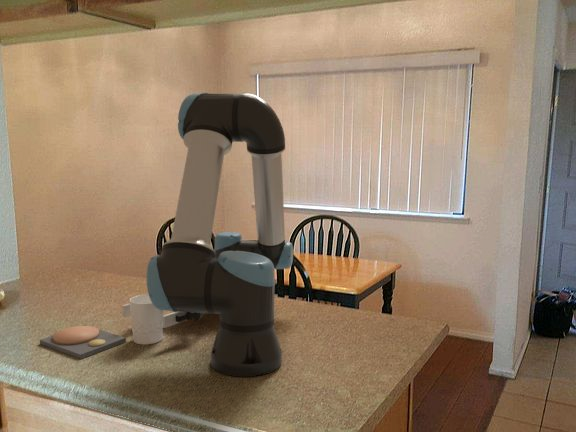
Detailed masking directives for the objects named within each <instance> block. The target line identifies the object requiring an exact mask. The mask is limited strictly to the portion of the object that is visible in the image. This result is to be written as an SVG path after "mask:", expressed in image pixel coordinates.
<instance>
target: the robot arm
mask: <svg viewBox="0 0 576 432" xmlns="http://www.w3.org/2000/svg"><path fill="white" fill-rule="evenodd" d="M177 120H178V123H177V130H178V134H179V137H180V138H181V139H182V140H183V141H182V142H183V144H184V145H185V147H186V149H187V153H186V157H185V164H184V168H183V174H182V179H181V184H180V185H181V186H180V190H179V195H178V201H177V205H176V211H175V215H174V216H175V217H174V222H173V226H172V233H171V237H170V239H169V240H168V241H166V242H164V243H163V244H162V247H161V251H160V254H155V255H153V256H152V257H151V258H150V259H149V261H148V263H147V268H146V287H147V288H146V289H147V294H149V297H150V300H151V302H152V304H153V305H154V306H155V307H156V308H158V309H160V310H164V311H166V312H167V311H169V312H170V313H167V314H164V316H162V319H163V328H164V329H166V328H169V327H173V326H175V325H177V324H180V323H182V322H185V321H191V320H192V319H193V321H194V322H199V321H200V320H201V319H202V317H203V316H204V315H205V314H213V315H214V314H216V315H217V314H218V330H217V333H216V335H215V338H214V342H213V346H212V349H211V350H210V365H211V367H212V368H213V369H214V370H215V371H216V370H217V372H218V371H219V372H218V373H220V372H221V373H220V374H223V373H224V374H223V375H226V374H228V375H227V376H231V375H234V376H233V377H240V376H250V377H256V376H255V375H259V376H261V375H260V374H263V375H266V374H265V373H267V374H269V373H268V372H270V373H272V372H274V371H276V370H277V369H279V368H280V367H279V366H281V365H282V362H283V353H282V352H283V351H282V348H281V346H280V342H279V339H278V335H277V331H276V329H275V290H276V289H275V285H276V278H275V277H276V275H275V270H285V269H286V270H287V269H290V268H291V267H292V265H293V260H294V246H293V243H292V242H290V241H286V239H285V238H286V236H285V235H286V234H285V230H286V229H285V211H284V210H285V209H284V205H285V204H284V187H283V186H284V184H283V159H282V158H283V157H282V153H283V152H284V151H285V150H286V137H285V132H284V128H283V126H282V123H281V120H280V118H279V116H278V115H277V113H276V112H275V110H274V109H273V108H272V106H271V105H270V104H269V103H268V102H266V100H265V99H263V98H261V97H259V96H258V95H256V94H254V93H248V92H241V93H235V92H234V93H208V92H201V93H191V94H189V95H187V96H186V97H185V98H184V99H183V101H182V102H181V104H180V107H179V110H178V116H177ZM234 142H237V143H238V142H240V143H243V142H245V143H246V150H247V153H249V154H250V155H251V166H252V168H251V169H252V178H253V179H252V181H253V196H254V208H255V222H256V223H255V224H256V237H257V240H245V239H243V238H242V234H241V233H240V232H234V231H224V232H219V233H216V235H215V237H214V248H213V247H212V246H211V239H212V236H213V235H212V234H213V227H214V221H215V215H216V210H217V209H216V208H217V202H218V196H219V190H220V185H221V184H220V183H221V175H222V171H223V170H222V169H223V165H224V164H223V163H224V157H225V156H226V155H227V154H229V153H230V152H231V151H232V147H233V143H234ZM130 316H131V315H130V302H129V303H125V304H122V317H124V318H125V317H130ZM271 371H272V372H271Z"/></svg>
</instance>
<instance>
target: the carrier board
mask: <svg viewBox="0 0 576 432" xmlns="http://www.w3.org/2000/svg"><path fill="white" fill-rule="evenodd" d="M126 342H127V339H126V337H124V336H121V335H118V334H115V333H113V332H112V333H111V332H109V331H106V330H102V329H99V328H98V327H95V326H91V325H86V324H85V325H76V326H70V327H66V328H62V329H60V330H58V331H55V332H54V333H53V334H52V335H51V336H47V337H44V338H41V339H39V344H40V345H42V346H43V347H47V348H49V349H53V350H55V351H57V352H58V351H59V352H61V353H63V354H66V355H69V356H72V357H74V358H77V359H79V360H81V359H82V360H84V359H85V358H87V357H90V356H92V355H95V354H97V353H100V352H101V353H102V352H103V351H105V350H108V349H111V348H114V347H116V346H119V345H121V344H123V343H124V344H125V343H126Z"/></svg>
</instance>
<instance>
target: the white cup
mask: <svg viewBox="0 0 576 432" xmlns="http://www.w3.org/2000/svg"><path fill="white" fill-rule="evenodd" d="M129 303H130V315H129V316H130V324H131V331H132V340H133V343H135V344H138V345H143V346H144V345H153V344H156V343H159V342H161V341H162V340H163V334H164V333H163V331H164V329H163V319H162V316H164V315H165V310H160V309H158V308H156V307H155V306H154V305H153V304H152V302H151V300H150V297H149V294H148V293H147V294H143V293H142V294H138V295H135V296H132V297H130V298H129Z"/></svg>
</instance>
